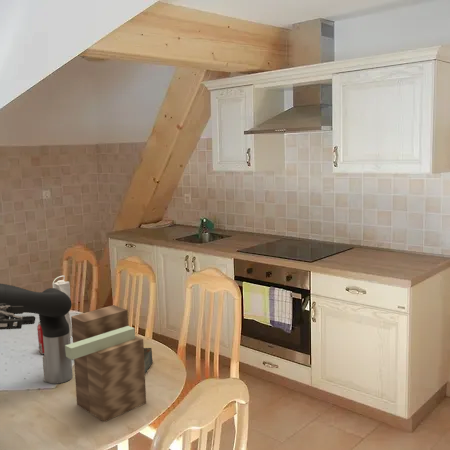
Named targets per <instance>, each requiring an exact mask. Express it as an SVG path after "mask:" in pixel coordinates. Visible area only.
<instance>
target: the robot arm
mask: <svg viewBox="0 0 450 450" xmlns="http://www.w3.org/2000/svg"><path fill="white" fill-rule="evenodd" d="M72 305H73V304H72V300H71V297H70V298H69V296H68V295H67V294H65V293H64V292H62V291H60V290H58V289H55V288H53V287H51V288H50V287H49V288H46V289H45V290H43V291H42V292H40V291H33V290H29V289H26V288H22V287H19V286H15V285H13V284H12V285H11V284H6V283H0V330H1V331H3V330H19V329H20V330H21V329H22V326H23V325H24V326H25V325H34V324H35V323H36V316H35V315H24V316H23V315H22V314H24V313H26V314H29V313H30V314H37V315H38V318H39V322H40V326H41V328H42V332H43V343H44V355H42V369H43V381H44V383H49V384H54V385H55V384H57V385H58V384H63V383H66V382H68V381H70V380H72V378H73V375H74V374H73V362H72V361H73V360H71V359H69V358H67V357H66V351H65V345H68V344H71V339H70V330H69V324H68V322H67V320H66V318H65V315H66V314H67V313H68V312H69V313H70V310H71V309H72ZM21 315H22V316H21Z"/></svg>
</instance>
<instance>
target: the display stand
mask: <svg viewBox="0 0 450 450" xmlns="http://www.w3.org/2000/svg"><path fill="white" fill-rule="evenodd" d="M128 311H129V310H128V309H126V308H124V307H121V306H118V305H116V304H115V305H114V304H113V305H109V306H105V307H101V308H97V309H94V310H90V311H87V312H83V313H79V314H75V315H72V316H71V315H70V320H71V327H72V343H75V342H78V341H81V340H84V339H87V338H91V337H94V336H97V335H100V334H103V333H107V332H110V331H113V330H116V329H119V328H123V327H126V326H129V315H128V314H129V313H128ZM144 344H145V343H144V338H142V337H139V336H138V335H135V339H133V340H130V341H127V342H124V343H121V344H118V345H115V346H112V347H109V348H106V349H103V350H100V351H97V352H94V353H91V354H88V355H85V356H82V357H79V358H76V359H73V367H74V378H75V380H74V381H75V393H76V405H77V406H79V407H80V408H82V409H84V410H85V411H86V412H88V413H89V414H91V415H92V416H94V417H96V418H97V419H99V420H100V421H102V422H107V421H110V420H112V419H114V418H116V417H118V416H120V415H122V414H125V413H127V412H129V411H131V410H133V409H136V408H138V407H141V406H143V405H145V404H147V394H146V393H147V392H146V387H147V386H146V373H145V365H144V348H145V346H144Z"/></svg>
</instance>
